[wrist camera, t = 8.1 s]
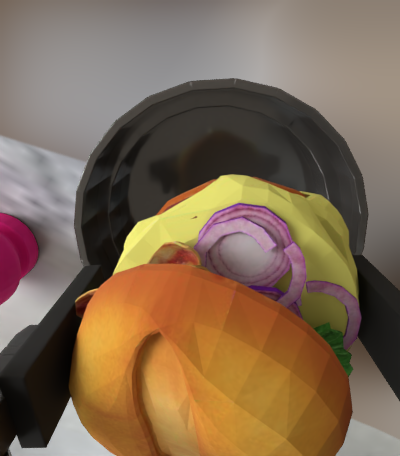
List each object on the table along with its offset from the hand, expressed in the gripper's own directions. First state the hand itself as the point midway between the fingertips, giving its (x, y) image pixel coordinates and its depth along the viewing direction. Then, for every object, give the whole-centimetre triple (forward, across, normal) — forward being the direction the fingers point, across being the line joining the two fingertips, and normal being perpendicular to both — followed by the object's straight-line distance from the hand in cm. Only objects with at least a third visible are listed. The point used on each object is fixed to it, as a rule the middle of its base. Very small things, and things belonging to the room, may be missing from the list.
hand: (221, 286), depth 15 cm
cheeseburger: (+1, 0, 0) cm, 1 cm away
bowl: (+13, 0, 0) cm, 13 cm away
